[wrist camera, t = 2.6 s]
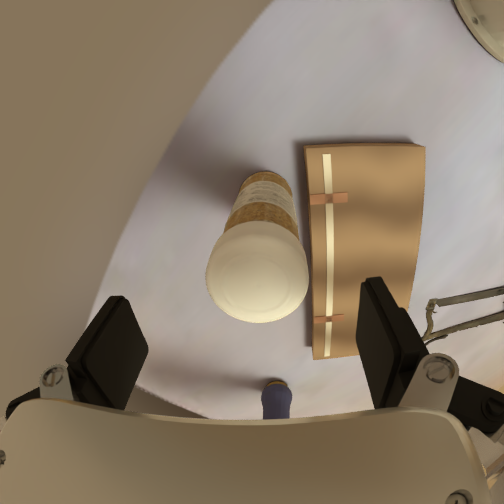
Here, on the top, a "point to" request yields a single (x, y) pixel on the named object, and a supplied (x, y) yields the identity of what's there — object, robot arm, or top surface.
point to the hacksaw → (462, 326)
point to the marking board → (360, 231)
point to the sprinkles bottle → (259, 254)
